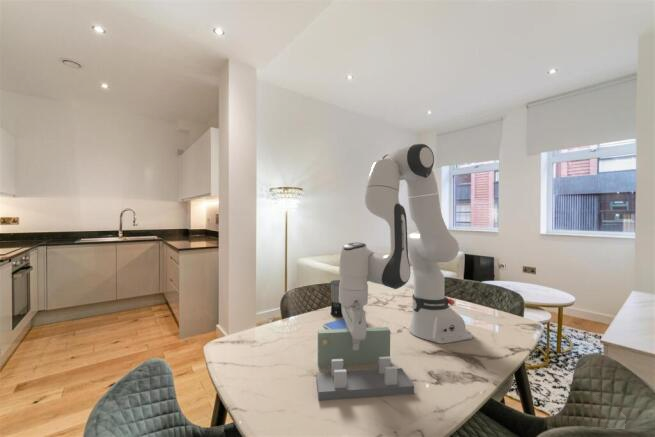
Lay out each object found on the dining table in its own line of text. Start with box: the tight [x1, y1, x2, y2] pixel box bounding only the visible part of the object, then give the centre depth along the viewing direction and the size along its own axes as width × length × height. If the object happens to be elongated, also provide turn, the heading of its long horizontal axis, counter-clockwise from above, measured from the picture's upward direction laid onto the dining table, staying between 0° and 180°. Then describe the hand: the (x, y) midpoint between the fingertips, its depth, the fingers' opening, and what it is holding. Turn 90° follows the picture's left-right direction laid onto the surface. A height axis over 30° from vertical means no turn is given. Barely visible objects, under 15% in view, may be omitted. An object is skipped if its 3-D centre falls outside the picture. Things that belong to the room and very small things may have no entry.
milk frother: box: [330, 279, 344, 318], centre depth 126 cm, size 14×16×15 cm
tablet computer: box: [322, 317, 346, 330], centre depth 105 cm, size 19×13×1 cm, turn 37°
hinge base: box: [315, 356, 415, 401], centre depth 70 cm, size 24×8×6 cm, turn 96°
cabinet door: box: [317, 326, 391, 368], centre depth 81 cm, size 22×4×10 cm, turn 96°
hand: (352, 341), depth 82 cm, fingers open, 8 cm apart
